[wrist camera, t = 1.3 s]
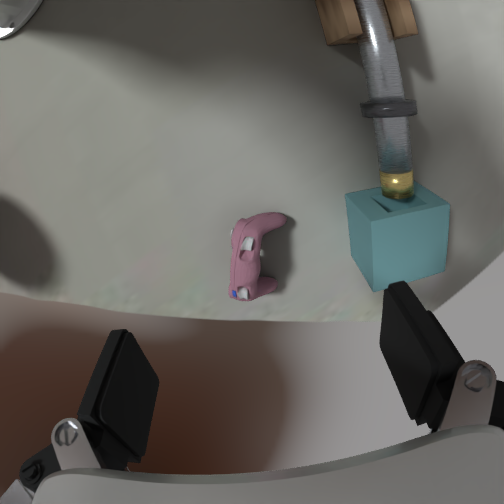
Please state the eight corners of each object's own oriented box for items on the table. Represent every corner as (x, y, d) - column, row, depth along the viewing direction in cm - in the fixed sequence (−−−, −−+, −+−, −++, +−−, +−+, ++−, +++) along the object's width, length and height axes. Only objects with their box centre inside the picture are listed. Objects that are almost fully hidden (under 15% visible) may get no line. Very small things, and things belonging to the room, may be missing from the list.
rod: (312, -41, 19) (326, -63, 14) (362, -41, 18) (382, -59, 13) (364, 189, 31) (385, 207, 26) (407, 180, 30) (432, 197, 26)
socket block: (344, 194, 33) (370, 221, 26) (413, 180, 32) (449, 203, 25) (351, 255, 37) (373, 292, 30) (414, 239, 36) (444, 271, 29)
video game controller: (251, 202, 35) (220, 223, 29) (290, 211, 33) (265, 235, 27) (245, 276, 39) (218, 306, 34) (279, 287, 38) (256, 320, 32)
